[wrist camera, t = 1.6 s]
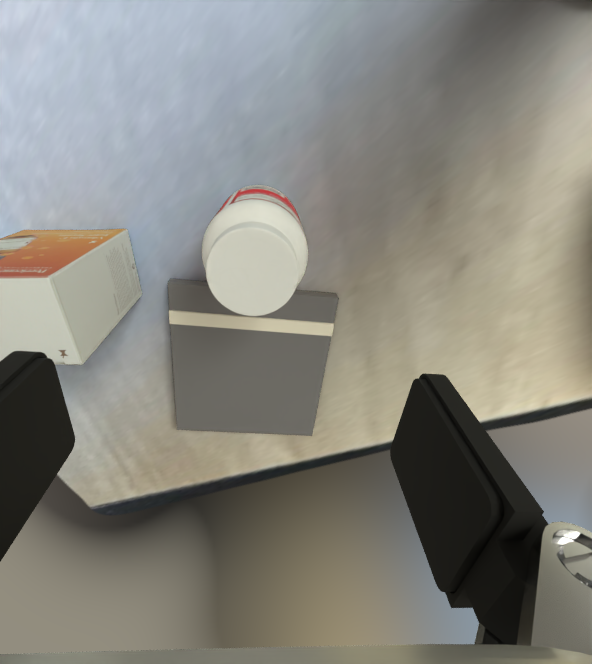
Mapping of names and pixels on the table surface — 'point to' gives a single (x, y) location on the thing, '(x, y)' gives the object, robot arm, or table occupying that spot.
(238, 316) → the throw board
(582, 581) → the robot arm
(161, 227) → the table surface
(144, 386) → the table surface
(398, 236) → the table surface
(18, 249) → the small box
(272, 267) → the pill bottle
